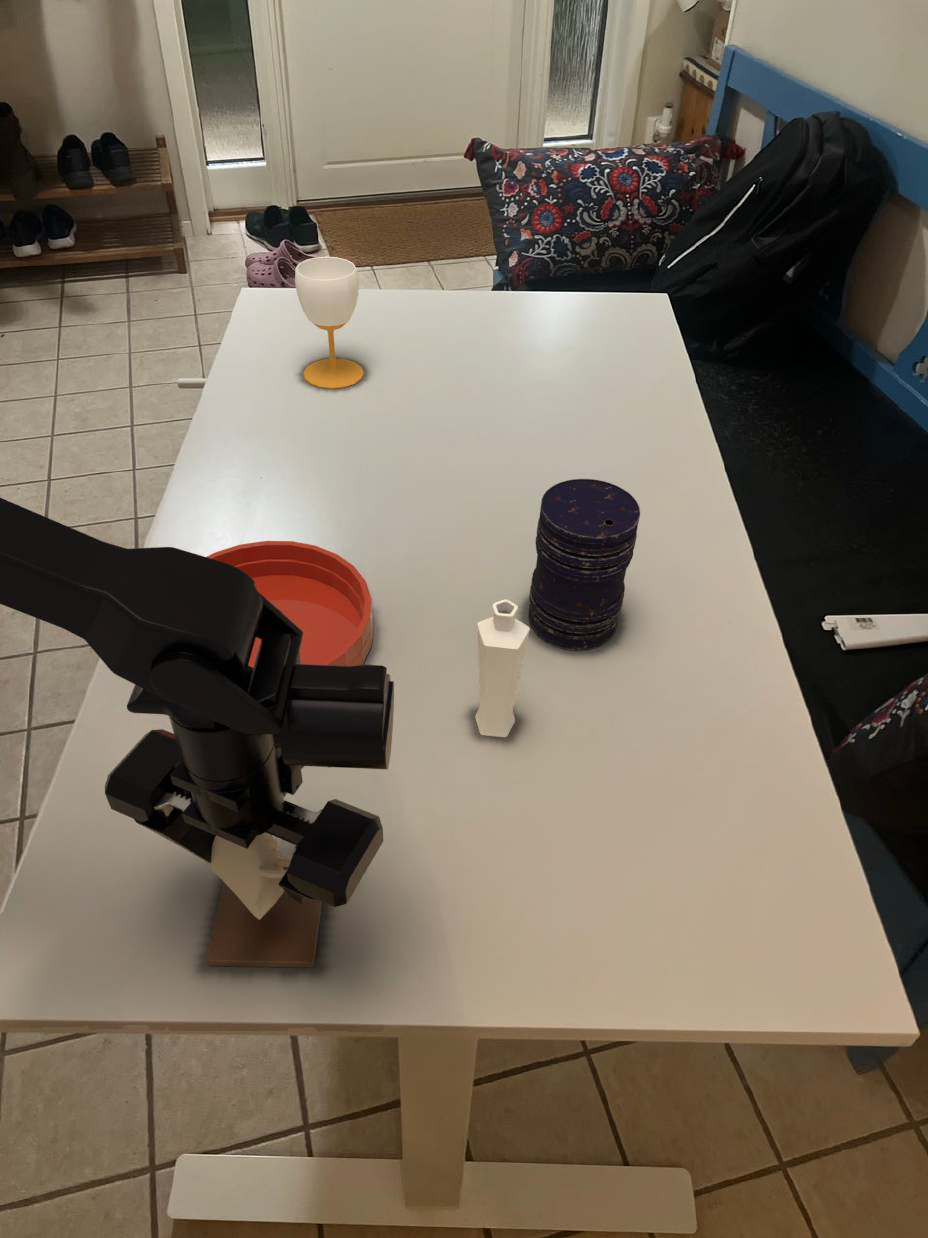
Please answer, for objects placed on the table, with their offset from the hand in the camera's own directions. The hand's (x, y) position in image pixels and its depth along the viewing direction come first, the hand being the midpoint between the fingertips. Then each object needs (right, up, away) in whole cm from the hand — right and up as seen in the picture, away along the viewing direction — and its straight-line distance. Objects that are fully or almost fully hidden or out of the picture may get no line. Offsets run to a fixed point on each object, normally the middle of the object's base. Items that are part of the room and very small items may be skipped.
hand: (258, 877), depth 66 cm
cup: (-4, +56, +68) cm, 89 cm away
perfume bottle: (+18, +9, +20) cm, 28 cm away
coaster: (0, -4, +4) cm, 6 cm away
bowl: (-5, +17, +27) cm, 32 cm away
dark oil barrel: (+27, +19, +31) cm, 45 cm away
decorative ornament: (0, -1, +1) cm, 1 cm away
